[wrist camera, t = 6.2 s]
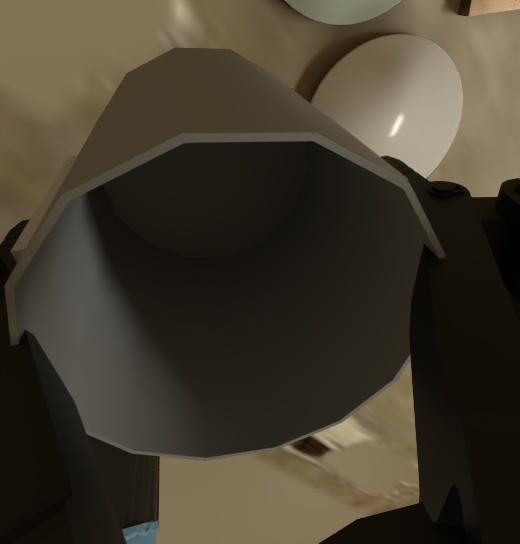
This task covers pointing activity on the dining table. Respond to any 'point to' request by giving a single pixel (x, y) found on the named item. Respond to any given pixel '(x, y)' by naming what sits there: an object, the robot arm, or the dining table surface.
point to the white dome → (396, 98)
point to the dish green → (341, 10)
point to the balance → (487, 6)
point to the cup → (220, 265)
